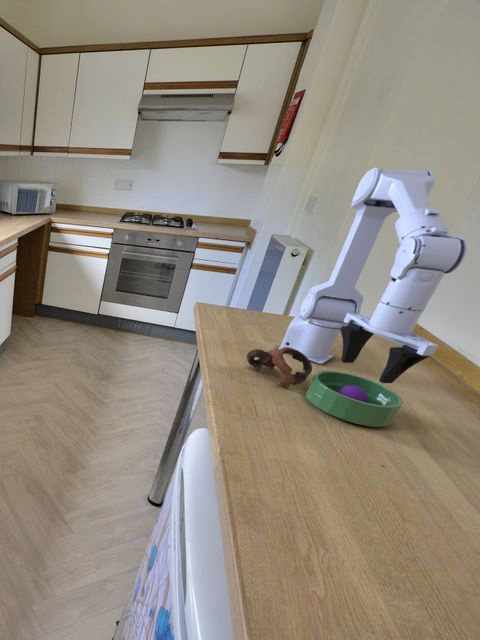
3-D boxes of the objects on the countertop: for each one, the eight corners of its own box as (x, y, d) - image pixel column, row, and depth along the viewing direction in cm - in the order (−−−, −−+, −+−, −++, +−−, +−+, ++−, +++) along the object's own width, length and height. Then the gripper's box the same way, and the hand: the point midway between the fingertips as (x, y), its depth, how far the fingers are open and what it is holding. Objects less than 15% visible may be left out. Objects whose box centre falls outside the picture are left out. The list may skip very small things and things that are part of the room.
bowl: (294, 402, 83) (304, 381, 81) (318, 385, 90) (328, 365, 88) (378, 438, 74) (392, 415, 71) (398, 415, 80) (411, 394, 78)
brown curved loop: (282, 369, 97) (312, 351, 90) (288, 402, 92) (320, 385, 85) (234, 351, 98) (260, 331, 91) (236, 383, 92) (264, 365, 85)
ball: (327, 399, 83) (337, 381, 81) (346, 399, 84) (357, 381, 82) (346, 413, 79) (358, 394, 77) (367, 413, 80) (379, 394, 78)
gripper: (469, 321, 66) (425, 392, 72) (380, 292, 79) (348, 354, 85) (431, 321, 65) (390, 392, 71) (347, 291, 78) (318, 354, 84)
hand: (365, 371), depth 78 cm, fingers open, 7 cm apart
